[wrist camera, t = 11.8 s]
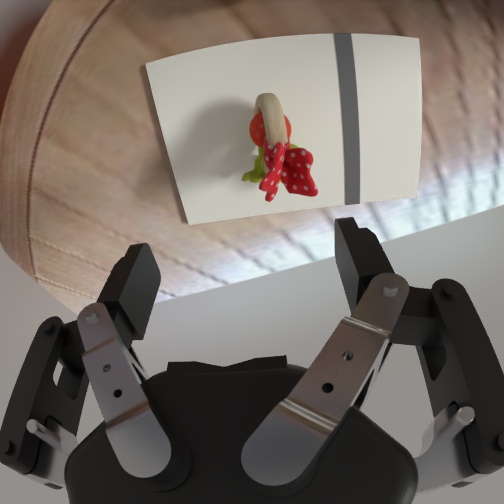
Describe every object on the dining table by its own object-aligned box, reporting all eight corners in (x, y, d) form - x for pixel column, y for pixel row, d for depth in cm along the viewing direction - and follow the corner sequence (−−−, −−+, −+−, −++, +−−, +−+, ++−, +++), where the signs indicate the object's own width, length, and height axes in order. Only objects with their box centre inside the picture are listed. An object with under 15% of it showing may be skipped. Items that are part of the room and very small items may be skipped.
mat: (148, 63, 24) (145, 63, 23) (415, 38, 21) (419, 38, 21) (190, 221, 34) (188, 225, 34) (413, 194, 32) (417, 198, 31)
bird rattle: (230, 115, 28) (246, 201, 30) (207, 83, 18) (232, 213, 20) (291, 104, 28) (308, 191, 30) (300, 66, 17) (326, 197, 19)
